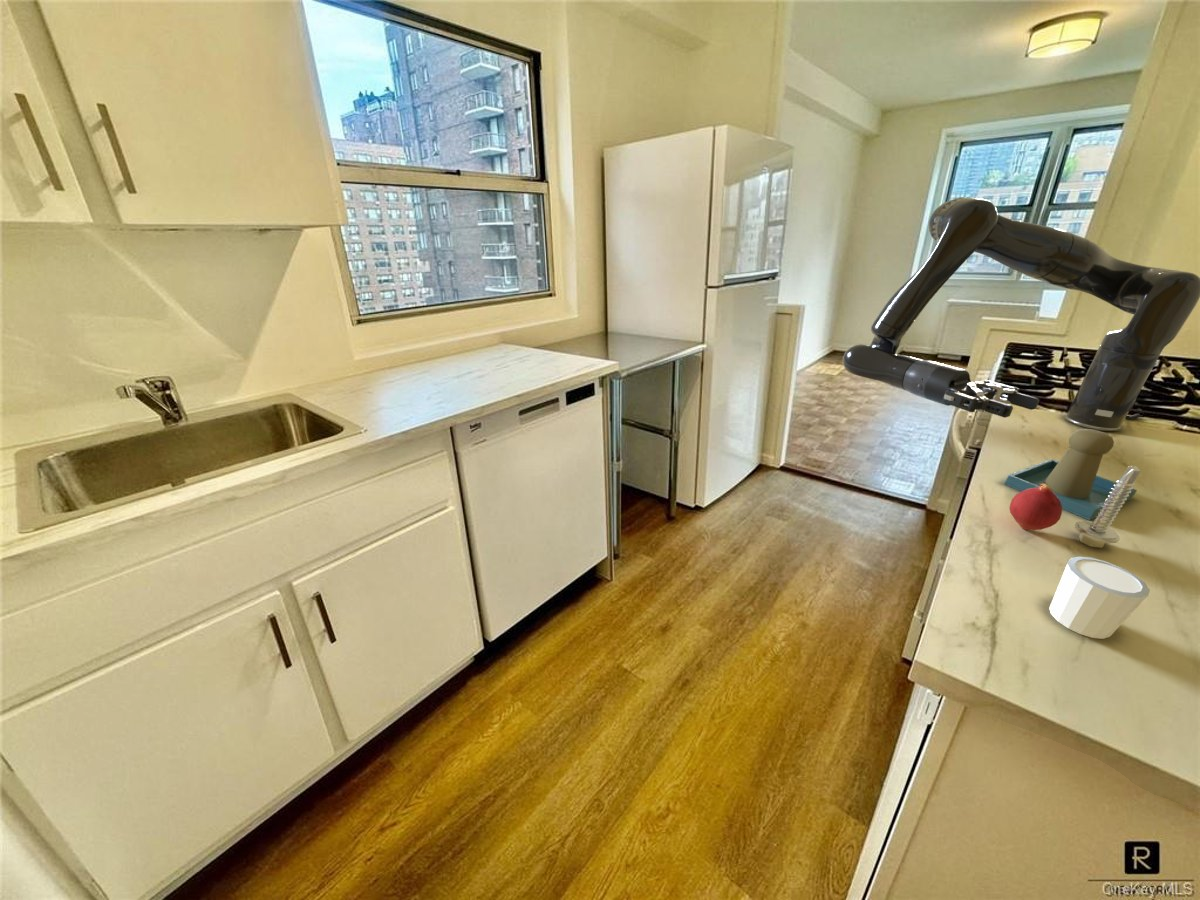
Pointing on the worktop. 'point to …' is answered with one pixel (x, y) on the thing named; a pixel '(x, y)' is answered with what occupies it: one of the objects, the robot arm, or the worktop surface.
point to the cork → (1080, 463)
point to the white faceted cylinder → (1096, 597)
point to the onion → (1036, 508)
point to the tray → (1076, 506)
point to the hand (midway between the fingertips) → (1023, 408)
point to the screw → (1108, 513)
